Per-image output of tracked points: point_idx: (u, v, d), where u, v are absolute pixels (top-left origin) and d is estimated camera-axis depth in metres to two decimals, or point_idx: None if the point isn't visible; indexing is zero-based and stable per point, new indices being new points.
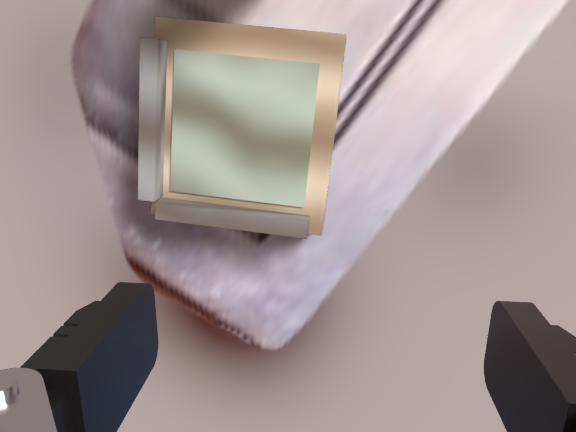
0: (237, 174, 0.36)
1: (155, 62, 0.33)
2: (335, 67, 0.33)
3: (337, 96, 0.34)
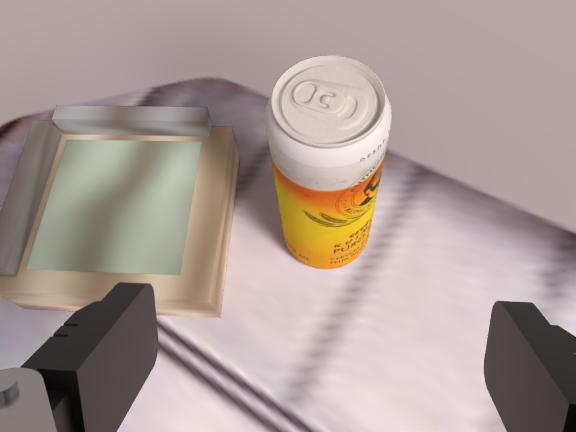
0: (73, 200, 0.34)
1: (183, 119, 0.34)
2: (174, 291, 0.31)
3: None
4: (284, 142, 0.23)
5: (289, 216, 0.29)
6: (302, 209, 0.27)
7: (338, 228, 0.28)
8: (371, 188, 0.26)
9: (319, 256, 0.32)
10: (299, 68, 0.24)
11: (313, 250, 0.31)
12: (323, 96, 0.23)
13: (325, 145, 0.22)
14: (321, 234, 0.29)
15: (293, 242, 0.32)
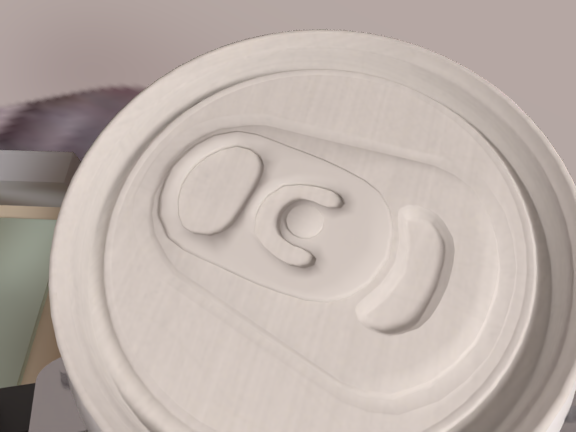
0: None
1: (21, 178, 0.16)
2: None
3: None
4: None
5: None
6: None
7: None
8: None
9: None
10: (207, 80, 0.06)
11: None
12: (295, 213, 0.05)
13: None
14: None
15: None
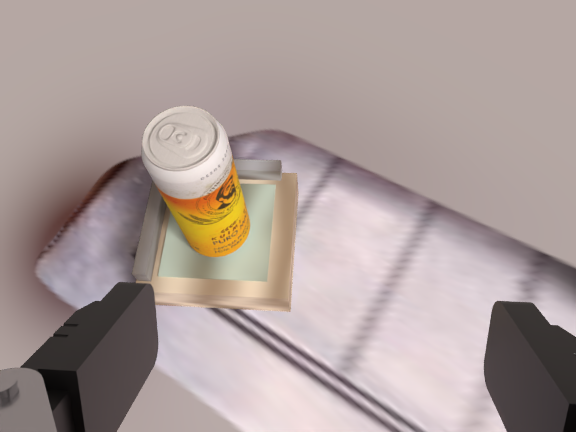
0: None
1: (264, 169, 0.48)
2: (264, 292, 0.44)
3: (243, 295, 0.44)
4: (150, 166, 0.34)
5: (174, 216, 0.40)
6: (177, 211, 0.38)
7: (208, 225, 0.39)
8: (224, 197, 0.37)
9: (204, 246, 0.43)
10: (166, 114, 0.35)
11: (198, 242, 0.42)
12: (178, 135, 0.34)
13: (173, 169, 0.33)
14: (197, 229, 0.40)
15: (185, 236, 0.43)
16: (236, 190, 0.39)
